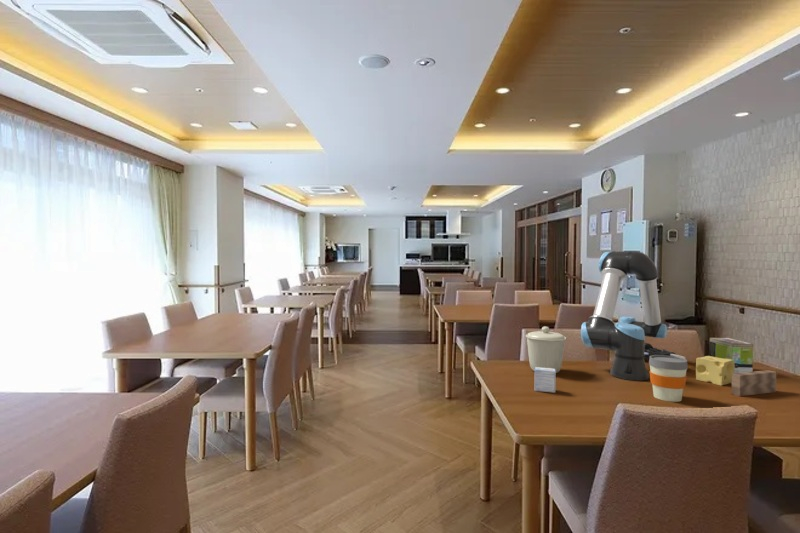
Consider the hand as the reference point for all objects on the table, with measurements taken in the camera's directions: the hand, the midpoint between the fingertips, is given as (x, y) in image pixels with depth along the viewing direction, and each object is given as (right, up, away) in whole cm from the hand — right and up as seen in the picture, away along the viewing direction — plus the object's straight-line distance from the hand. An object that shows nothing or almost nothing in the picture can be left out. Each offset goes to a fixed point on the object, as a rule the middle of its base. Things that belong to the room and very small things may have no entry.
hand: (684, 359), depth 195 cm
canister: (-65, -6, +1) cm, 65 cm away
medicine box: (-75, -6, -28) cm, 81 cm away
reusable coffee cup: (-31, -7, -36) cm, 48 cm away
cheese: (+4, -7, -14) cm, 16 cm away
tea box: (+25, -6, +4) cm, 26 cm away
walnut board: (+8, -7, -30) cm, 31 cm away
